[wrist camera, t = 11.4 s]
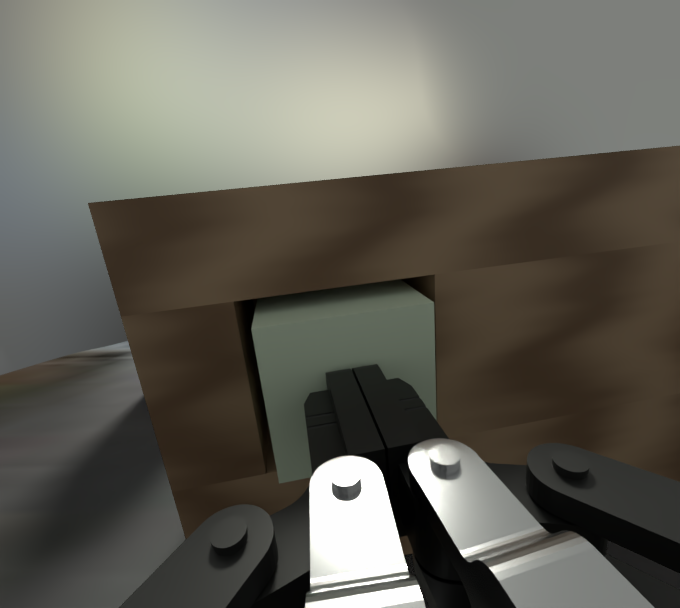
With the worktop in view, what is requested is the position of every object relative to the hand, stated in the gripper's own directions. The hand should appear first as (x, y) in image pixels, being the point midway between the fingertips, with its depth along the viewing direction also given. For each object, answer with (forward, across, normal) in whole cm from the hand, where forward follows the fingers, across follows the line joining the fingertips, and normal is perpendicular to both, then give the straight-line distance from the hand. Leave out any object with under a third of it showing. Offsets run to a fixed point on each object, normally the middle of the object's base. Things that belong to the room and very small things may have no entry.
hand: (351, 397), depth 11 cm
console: (+5, -8, +8) cm, 12 cm away
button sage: (+2, 0, +3) cm, 4 cm away
